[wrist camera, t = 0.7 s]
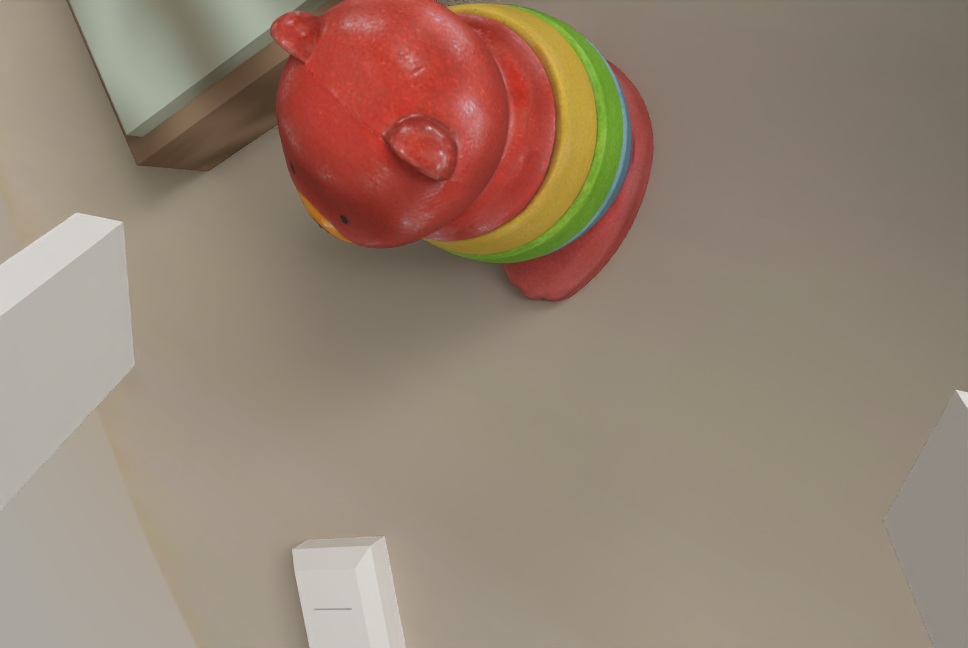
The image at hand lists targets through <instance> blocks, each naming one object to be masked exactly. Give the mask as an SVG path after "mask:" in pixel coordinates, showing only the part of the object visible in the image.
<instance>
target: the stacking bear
mask: <svg viewBox="0 0 968 648" xmlns="http://www.w3.org/2000/svg"><path fill="white" fill-rule="evenodd" d="M270 34H271V37H272V38H273V39H274V40H275V42H277V43H278V44H279V45H280V46H281V47H282V48H283V49H284V50H285V51H287V52H288V53H289V54H290V56H289V58H288V60H287V62H286V64H285V67H284V69H283V72H282V75H281V78H280V81H279V85H278V90H277V97H276V118H277V124H278V129H279V134H280V137H281V142H282V146H283V150H284V155H285V158H286V162H287V166H288V170H289V172H290V175H291V178H292V180H293V182H294V184H295V186H296V189H297V191H298V193H299V195H300V197H301V200H302V202H303V203H304V205H305V207H306V209H307V210H308V212H309V214H310V215H311V216H312V218H313V219H314V220H315V221H316V222H317V223H318V224H319V226H320V227H321V228H323V229H325V230H326V231H327V232H328V233H331V234H332V235H334V236H335V237H337V238H339V239H341V240H343V241H345V242H348V243H352V244H356V245H360V246H365V247H372V248H391V247H397V246H402V245H405V244H408V243H411V242H414V241H417V240H419V239H423V240H425V241H427V242H429V243H431V244H433V245H435V246H437V247H439V248H441V249H443V250H445V251H447V252H449V253H452V254H455V255H458V256H461V257H464V258H467V259H471V260H476V261H481V262H488V263H502V266H503V268H504V271H505V273H506V275H507V277H508V279H509V281H510V282H511V283H512V284H513V285H515V286H517V287H519V289H520V290H521V291H522V292H523V294H524V295H525V296H526V297H528V298H530V299H533V300H540V299H543V298H545V299H548V300H550V301H561V300H564V299H566V298H569V297H570V296H572V295H574V294H575V293H576V292H578V291H579V290H580V289H581V288H582V287H584V286H585V285H586V284H587V283H588V282H589V281H590V280H591V279H592V278H594V277H595V276H596V275H597V274H598V273H599V271H600V270H601V269H602V268H603V267H604V266H605V265H606V263H607V262H608V261H609V260H610V258H611V257H612V256H613V254H614V253H615V252H616V251H617V249H618V248H619V246H620V244H621V243H622V241H623V240H624V238H625V236H626V235H627V233H628V231H629V229H630V228H631V226H632V224H633V221H634V219H635V217H636V215H637V213H638V210H639V208H640V205H641V203H642V200H643V197H644V194H645V191H646V187H647V184H648V180H649V175H650V170H651V164H652V157H653V134H652V127H651V122H650V118H649V114H648V111H647V109H646V106H645V104H644V101H643V99H642V98H641V96H640V94H639V92H638V90H637V89H636V88H635V86H634V85H633V83H632V82H631V81H630V80H629V79H628V77H627V76H626V75H625V74H624V73H623V72H622V71H621V70H620V69H618V68H617V67H616V66H615V65H613V64H612V63H611V62H609V61H608V60H606V59H605V58H604V57H603V55H602V54H601V53H600V52H599V51H598V50H597V48H596V47H595V46H594V45H593V44H592V43H591V42H590V41H589V40H587V39H586V38H585V37H584V36H582V35H581V34H580V33H579V32H577V31H576V30H575V29H573V28H572V27H570V26H569V25H567V24H566V23H564V22H562V21H560V20H558V19H556V18H554V17H552V16H549V15H547V14H544V13H542V12H538V11H535V10H532V9H528V8H524V7H519V6H514V5H504V4H491V3H468V4H459V5H452V6H448V7H446V6H444V5H442V4H440V3H439V2H437V1H435V0H345V1H343V2H341V3H339V4H337V5H335V6H334V7H332V8H330V9H329V10H327V11H326V12H325V13H323V14H322V15H321V16H315V15H312V14H310V13H308V12H305V11H291V12H287V13H285V14H283V15H282V16H280V17H278V18H277V19H276V20H275V21H273V23H272V25H271V28H270Z"/></svg>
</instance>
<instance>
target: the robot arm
mask: <svg viewBox="0 0 968 648" xmlns="http://www.w3.org/2000/svg"><path fill="white" fill-rule="evenodd" d="M134 365H135V360H134V347H133V335H132V322H131V310H130V298H129V285H128V273H127V260H126V248H125V235H124V223H123V222H121V221H117V220H112V219H107V218H102V217H97V216H92V215H87V214H82V213H75V214H74V215H72V216H71V217H69V218H68V219H67V220H65V221H64V222H62V223H61V224H59V225H58V226H56V227H55V228H53V229H52V230H50V231H49V232H47V233H46V234H45V235H43V236H42V237H40V238H39V239H37V240H36V241H34V242H33V243H31V244H30V245H28V246H27V247H26V248H24V249H23V250H21V251H20V252H18V253H17V254H15V255H14V256H12V257H11V258H9V259H8V260H7V261H5V262H4V263H2V264H1V265H0V511H1V510H2V509H3V508H4V507H5V505H6V504H7V503H8V502H9V501H10V500H11V499H12V498H13V497H14V496H15V495H16V493H18V491H19V490H20V489H21V488H22V487H23V486H24V485H25V484H26V483H27V482H28V480H29V479H30V478H31V477H32V476H33V475H34V474H35V473H36V472H37V471H38V470H39V469H40V467H41V466H42V465H43V464H44V463H45V462H46V461H47V460H48V459H49V458H50V457H51V456H52V455H53V453H54V452H55V451H56V450H57V449H58V448H59V447H60V446H61V445H62V444H63V443H64V441H65V440H66V439H67V438H68V437H69V436H70V435H71V434H72V433H73V432H74V431H75V430H76V428H77V427H78V426H79V425H80V424H81V423H82V422H83V421H84V420H85V419H86V418H87V416H88V415H89V414H90V413H91V412H92V411H93V410H94V409H95V408H96V407H97V406H98V405H99V403H100V402H101V401H102V400H103V399H104V398H105V397H106V396H107V395H108V394H109V393H110V392H111V390H112V389H113V388H114V387H115V386H116V385H117V384H118V383H119V382H120V381H121V380H122V378H123V377H124V376H125V375H126V374H127V373H128V372H129V371H130V370H131V369H132V368H133V367H134ZM883 522H884V525H885V527H886V530H887V532H888V535H889V537H890V540H891V542H892V545H893V547H894V550H895V552H896V555H897V557H898V559H899V562H900V564H901V567H902V569H903V572H904V574H905V577H906V579H907V582H908V584H909V587H910V589H911V592H912V594H913V597H914V599H915V602H916V604H917V607H918V609H919V612H920V614H921V617H922V619H923V622H924V624H925V627H926V629H927V632H928V634H929V637H930V639H931V641H932V644H933V646H934V648H968V392H964V391H959V390H955V392H954V394H953V396H952V398H951V399H950V401H949V403H948V405H947V407H946V408H945V410H944V412H943V414H942V416H941V417H940V419H939V421H938V423H937V425H936V426H935V428H934V430H933V432H932V434H931V435H930V437H929V439H928V441H927V443H926V444H925V446H924V448H923V450H922V452H921V453H920V455H919V457H918V459H917V461H916V462H915V464H914V466H913V468H912V470H911V471H910V473H909V475H908V477H907V479H906V480H905V482H904V484H903V486H902V488H901V489H900V491H899V493H898V495H897V497H896V498H895V500H894V502H893V504H892V506H891V507H890V509H889V511H888V513H887V515H886V516H885V518H884V520H883Z"/></svg>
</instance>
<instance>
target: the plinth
mask: <svg viewBox="0 0 968 648" xmlns="http://www.w3.org/2000/svg"><path fill="white" fill-rule="evenodd" d="M343 1H345V0H67V3H68V5H69V7H70V10H71V12H72V14H73V17H74V19H75V21H76V24H77V26H78V28H79V31H80V33H81V35H82V38H83V40H84V42H85V45H86V47H87V49H88V52H89V54H90V56H91V59H92V61H93V63H94V66H95V68H96V70H97V73H98V75H99V77H100V80H101V82H102V84H103V87H104V89H105V91H106V94H107V96H108V98H109V101H110V103H111V105H112V108H113V110H114V112H115V115H116V117H117V119H118V122H119V124H120V127H121V129H122V131H123V134H124V136H125V138H126V141H127V143H128V145H129V148H130V150H131V152H132V155H133V157H134V159H135V162H136V164H137V165H139V166H151V167H164V168H176V169H189V170H201V171H209V170H210V169H212V168H213V167H215V166H216V165H218V164H219V163H221V162H222V161H224V160H225V159H227V158H228V157H229V156H231V155H232V154H234V153H235V152H237V151H238V150H240V149H241V148H243V147H244V146H246V145H247V144H249V143H250V142H252V141H253V140H254V139H256V138H257V137H259V136H260V135H262V134H263V133H265V132H266V131H268V130H269V129H271V128H272V127H274V126H275V125H277V118H276V97H277V90H278V85H279V81H280V78H281V75H282V72H283V69H284V67H285V64H286V62H287V60H288V58H289V56H290V54H289V53H288V52H287V51H285V50H284V49H283V48H282V47H281V46H280V45H279V44H278V43H277V42H275V40H274V39H273V38H272V37H271V34H270V28H271V25H272V23H273V21H275V20H276V19H277V18H278V17H280V16H282V15H283V14H285V13H287V12H291V11H305V12H308V13H310V14H312V15H315V16H321V15H322V14H323V13H325V12H326V11H327V10H329V9H330V8H332V7H334V6H335V5H337V4H339V3H341V2H343Z"/></svg>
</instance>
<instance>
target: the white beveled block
mask: <svg viewBox="0 0 968 648" xmlns="http://www.w3.org/2000/svg"><path fill="white" fill-rule="evenodd" d="M292 555H293V563H294V571H295V576H296V581H297V587H298V592H299V597H300V602H301V607H302V612H303V617H304V622H305V627H306V632H307V637H308V643H309V648H406V646H405V640H404V635H403V630H402V625H401V619H400V614H399V609H398V604H397V599H396V593H395V588H394V583H393V578H392V573H391V567H390V562H389V557H388V552H387V546H386V541H385V536H371V537H352V538H332V539H313V540H306V541H305V542H303V543H301V544H300V545H298V546H296V547H295V548H293V549H292Z"/></svg>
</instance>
